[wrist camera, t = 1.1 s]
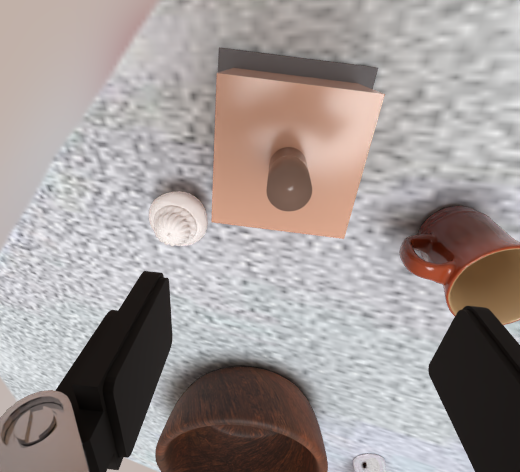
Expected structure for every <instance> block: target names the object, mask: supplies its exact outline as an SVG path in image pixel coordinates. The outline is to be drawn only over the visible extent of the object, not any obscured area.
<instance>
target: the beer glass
mask: <svg viewBox="0 0 520 472" xmlns="http://www.w3.org/2000/svg"><path fill="white" fill-rule="evenodd" d="M353 466H354V470H355V472H386V464H385V460H384V459H383V458H382V457H381V456H379V455H376V454H362V455H359V456H357V457H356V458H354V460H353Z"/></svg>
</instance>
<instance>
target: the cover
mask: <svg viewBox="0 0 520 472" xmlns="http://www.w3.org/2000/svg"><path fill="white" fill-rule="evenodd" d="M384 96H385V94H383V93H381V92H378V91H376V90H373V89H371V88H368V87H366V86H363V85H361V84H358V83H351V82H343V81H335V80H327V79H319V78H311V77H303V76H295V75H287V74H279V73H271V72H264V71H256V70H248V69H240V68H232V69H228V70H225V71H222V72H219V73H217V81H216V110H215V138H214V166H213V194H212V222H214V223H222V224H230V225H238V226H246V227H254V228H262V229H270V230H278V231H286V232H294V233H302V234H310V235H318V236H326V237H334V238H342V239H344V237H345V233H346V230H347V226H348V223H349V219H350V216H351V212H352V208H353V205H354V201H355V198H356V194H357V191H358V187H359V184H360V180H361V177H362V173H363V170H364V166H365V163H366V159H367V156H368V152H369V149H370V145H371V141H372V138H373V134H374V131H375V127H376V124H377V120H378V117H379V113H380V110H381V106H382V103H383V99H384Z"/></svg>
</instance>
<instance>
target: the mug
mask: <svg viewBox="0 0 520 472" xmlns="http://www.w3.org/2000/svg"><path fill="white" fill-rule="evenodd" d="M414 250H418V251H420V252H421V254H422V257H423V259H424V260H423V259H421V258H420V257H419V256H418V255H417V254H416V253H415V251H414ZM400 257H401V260H402V262H403V264H404V265H405V267H406V268H407V269H408V270H409V271H410V272H411V273H413V274H415V275H417V276H419V277H421V278H425V279H429V280H432V281H434V282H436V283H440V284H443V287H444V292H445V298H446V303H447V306H448V308H449V310H450V311H451V313H452V314H453V315H454V316H456V314H457V312H458V311H459V310H462V309H463V308H464V307H465V306H476V307H485V308H488V309H489V310H491V311H492V313H493V314H494V315H495V316H496V317H497V319H498V320H499V321H500V322H501V323H502V325H505V324H509V323H513V322H516V321H518V320H520V242H519V241H517V240H515V239H513V238H512V237H511V236H510V235H509V234H507V233H506V232H505V231H504V230H503V229H502V228H501V227H500V226H498V225H497V224H496V223H495V222H494V221H493V220H492V219H491V218H490V217H488V216H487V215H485V214H483V213H481V212H478V211H476V210H474V209H472V208H469V207H465V206H452V207H448V208H444V209H442V210H440V211H438V212H436V213H434V214H433V215H431V216H430V217H429V218H427V219H426V220H425V222H424V223H423V225H422V226H421V228H420V230H419V233H418V235H414V236H409V237H407V238H406V239H405V240H404V241H403V243H402V245H401V247H400Z"/></svg>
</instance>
